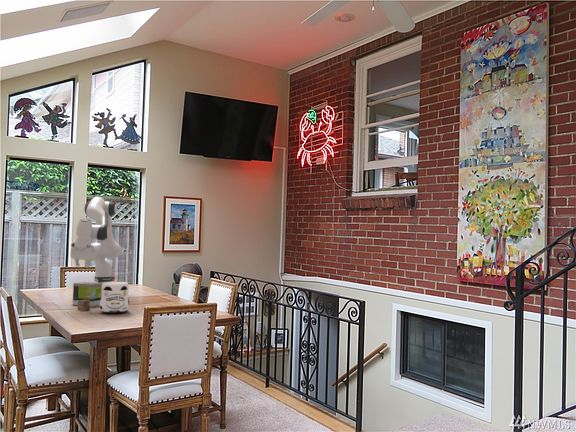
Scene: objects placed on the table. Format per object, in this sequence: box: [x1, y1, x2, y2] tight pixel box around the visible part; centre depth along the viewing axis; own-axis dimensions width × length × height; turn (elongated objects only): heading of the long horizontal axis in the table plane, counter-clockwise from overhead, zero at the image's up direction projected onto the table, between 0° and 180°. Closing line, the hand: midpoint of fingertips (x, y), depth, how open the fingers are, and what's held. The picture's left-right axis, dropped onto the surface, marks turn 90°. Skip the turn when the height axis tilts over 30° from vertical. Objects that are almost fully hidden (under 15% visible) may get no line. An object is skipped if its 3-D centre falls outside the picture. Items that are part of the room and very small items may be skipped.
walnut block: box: [77, 300, 91, 312], centre depth 307 cm, size 5×5×6 cm
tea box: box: [72, 281, 102, 308], centre depth 324 cm, size 15×10×15 cm, turn 71°
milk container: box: [99, 281, 130, 315], centre depth 302 cm, size 17×17×18 cm
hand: (82, 266), depth 307 cm, fingers open, 8 cm apart
